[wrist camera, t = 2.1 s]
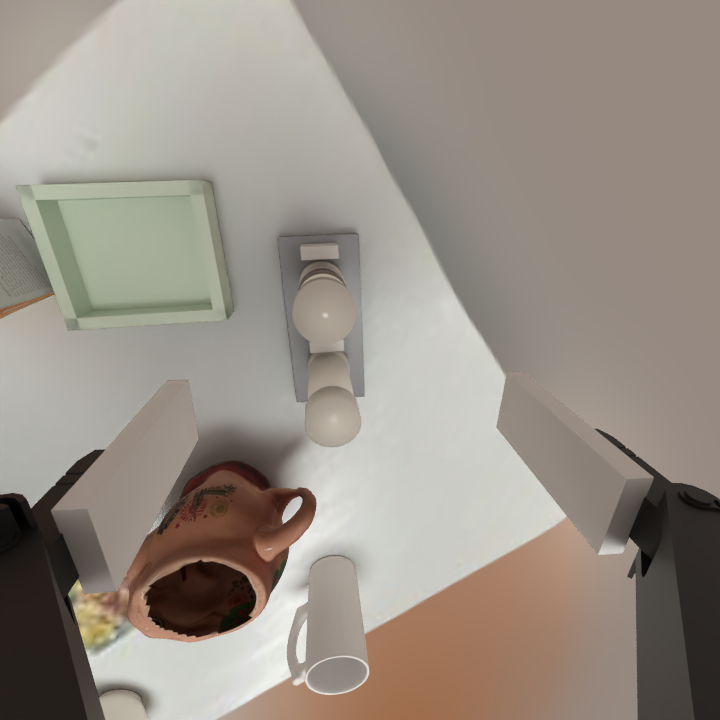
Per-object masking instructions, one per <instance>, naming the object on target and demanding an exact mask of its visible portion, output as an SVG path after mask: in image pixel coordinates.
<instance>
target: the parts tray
mask: <svg viewBox="0 0 720 720" xmlns="http://www.w3.org/2000/svg"><path fill="white" fill-rule="evenodd" d="M16 189H17V192H18V194H19V197H20V200H21V203H22V205H23V208H24V211H25V214H26V216H27V219H28V222H29V225H30V227H31V230H32V233H33V236H34V238H35V241H36V244H37V247H38V249H39V252H40V255H41V258H42V260H43V263H44V266H45V269H46V271H47V274H48V277H49V280H50V282H51V285H52V288H53V291H54V293H55V296H56V299H57V302H58V304H59V307H60V310H61V313H62V315H63V318H64V321H65V323H66V326H67V329H68V331H69V330H85V329H100V328H115V327H130V326H146V325H161V324H176V323H191V322H207V321H222V320H227V319H228V318H229V317H230V316H231V314H232V313H233V312H234V309H233V303H232V297H231V292H230V286H229V280H228V275H227V269H226V263H225V258H224V252H223V246H222V240H221V235H220V229H219V223H218V218H217V212H216V206H215V201H214V195H213V189H212V184H211V182H207V181H203V180H178V181H145V182H113V183H81V184H49V185H17V186H16Z"/></svg>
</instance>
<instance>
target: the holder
mask: <svg viewBox="0 0 720 720" xmlns="http://www.w3.org/2000/svg"><path fill="white" fill-rule="evenodd" d="M277 240H278V249H279V257H280V265H281V274H282V282H283V291H284V299H285V308H286V316H287V324H288V333H289V341H290V350H291V358H292V367H293V375H294V383H295V392H296V400H297V402H306V401H307V403H306V408H305V430H306V433H307V434H308V436H309V437H310V439H311V440H313V441H314V442H315V443H317V444H319V445H321V446H325V447H339V446H342V445H345V444H347V443H349V442H350V441H351V440H353V439H354V438H355V437H356V435H357V434H358V432H359V430H360V427H361V417H360V413H359V408H358V404H357V401H356V398H355V397H363V396H364V369H363V342H362V314H361V287H360V259H359V234H357V233H352V234H330V235H308V236H287V237H278V238H277ZM316 260H326V261H330V262H332V263H333V264H335V265H336V266H337V267H338V268H339V269H340V271H341V272H342V275H343V277H344V280H345V285H346V287H347V289H348V290H349V292H350V293H351V296H352V298H353V300H354V303H355V306H356V312H357V313H356V321H355V325H354V327H353V329H352V330H351V332H350V333H349V334H348V335H347V336H346V337H345V338H344V339H342V340H340V341H339V342H336V343H333V344H327V345H323V344H316V343H313V342H311V341H309V340H307V339H306V338H304V337H303V336H302V335H301V334H300V333H299V332H298V330H297V329H296V327H295V325H294V321H293V316H292V311H293V305H294V301H295V297H296V294H297V292H298V290H299V280H300V275H301V273H302V271H303V269H304V268H305V267H306V266H307V265H308V264H309V263H311V262H313V261H316Z"/></svg>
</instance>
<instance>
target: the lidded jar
mask: <svg viewBox="0 0 720 720" xmlns="http://www.w3.org/2000/svg"><path fill="white" fill-rule="evenodd" d="M99 699H100V703H101V706H102V710H103V713H104V717H105V720H147V717H146V712H145V709H144V706H143V704H142V698H141V697H140V696H139V695H138V694H137V693H135V692H133V691H130V690H124V689H117V690H111V691H107V692H105V693H103V694H102V695H101V696H100V697H99Z"/></svg>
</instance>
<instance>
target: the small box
mask: <svg viewBox="0 0 720 720" xmlns="http://www.w3.org/2000/svg"><path fill="white" fill-rule="evenodd" d="M54 294H55V293H54V291H53V288H52V285H51V282H50V280H49V277H48V274H47V271H46V269H45V266H44V263H43V260H42V258H41V255H40V252H39V249H38V247H37V244H36V241H35V240H34V238H33V237H32V236H31V234H30V233H29V232H28V231H27V229H26V228H25V227H24V225H23V224H22V223H21V221H20V220H19V219H0V318H2V317H4V316H6V315H8V314H11V313H13V312H15V311H17V310H20V309H22V308H24V307H26V306H28V305H30V304H33V303H35V302H37V301H40V300H42V299H44V298H47V297H49V296H51V295H54Z"/></svg>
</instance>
